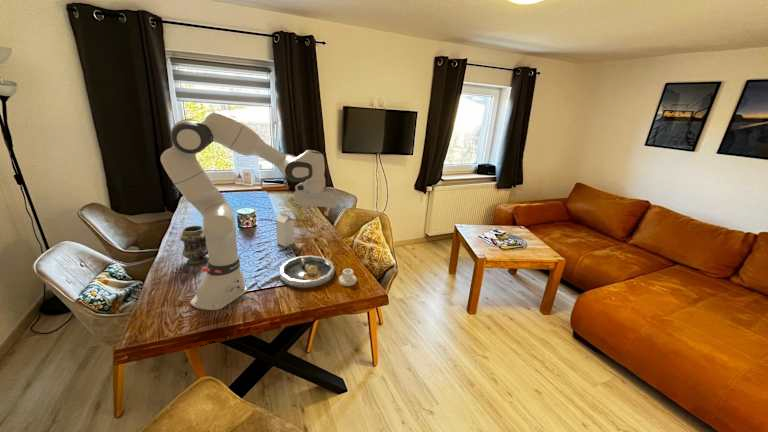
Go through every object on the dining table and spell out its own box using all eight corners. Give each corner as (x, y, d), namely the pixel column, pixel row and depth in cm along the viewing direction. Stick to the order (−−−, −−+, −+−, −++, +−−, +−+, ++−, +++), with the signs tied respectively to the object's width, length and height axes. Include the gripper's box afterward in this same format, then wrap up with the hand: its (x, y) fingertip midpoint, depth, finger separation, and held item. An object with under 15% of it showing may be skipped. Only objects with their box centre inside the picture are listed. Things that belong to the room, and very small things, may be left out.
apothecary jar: (207, 253, 163) (203, 222, 157) (214, 262, 155) (210, 229, 149) (181, 259, 155) (175, 227, 149) (187, 269, 147) (181, 235, 141)
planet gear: (353, 287, 143) (354, 276, 141) (336, 284, 144) (336, 274, 142) (358, 278, 150) (358, 268, 148) (341, 275, 152) (342, 265, 150)
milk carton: (285, 247, 176) (283, 216, 170) (277, 243, 180) (275, 213, 173) (294, 243, 182) (293, 213, 176) (286, 239, 186) (285, 210, 179)
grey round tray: (322, 292, 137) (322, 278, 135) (269, 283, 141) (268, 269, 139) (340, 265, 161) (341, 253, 159) (294, 257, 165) (294, 245, 163)
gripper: (339, 186, 140) (339, 214, 145) (297, 182, 143) (299, 210, 148) (335, 189, 134) (336, 218, 139) (291, 186, 137) (293, 214, 142)
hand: (316, 214), depth 144 cm, fingers open, 8 cm apart
